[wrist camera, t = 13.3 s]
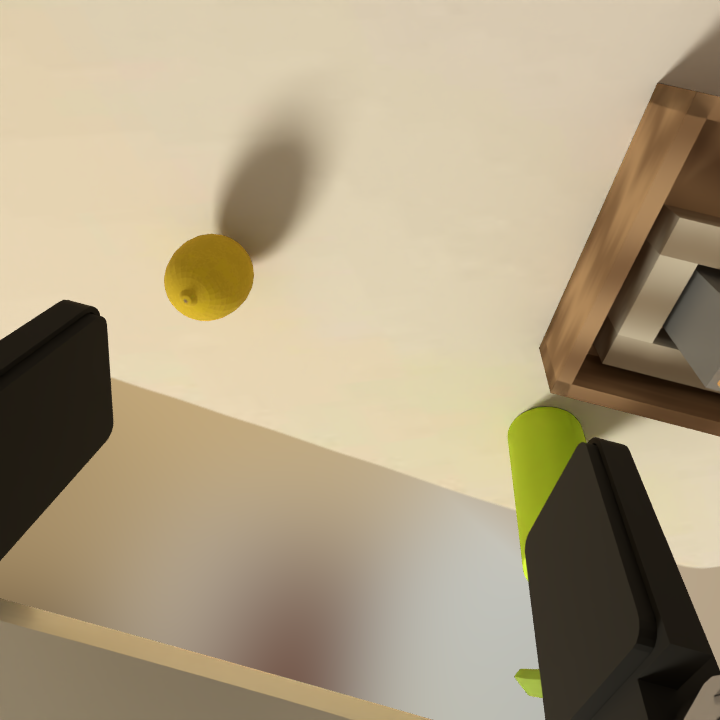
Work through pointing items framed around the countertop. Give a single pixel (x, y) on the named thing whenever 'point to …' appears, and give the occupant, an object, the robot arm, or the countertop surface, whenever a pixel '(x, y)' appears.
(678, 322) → the plug
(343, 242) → the countertop surface
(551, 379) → the crate
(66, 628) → the robot arm
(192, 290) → the lemon
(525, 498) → the soap dispenser
